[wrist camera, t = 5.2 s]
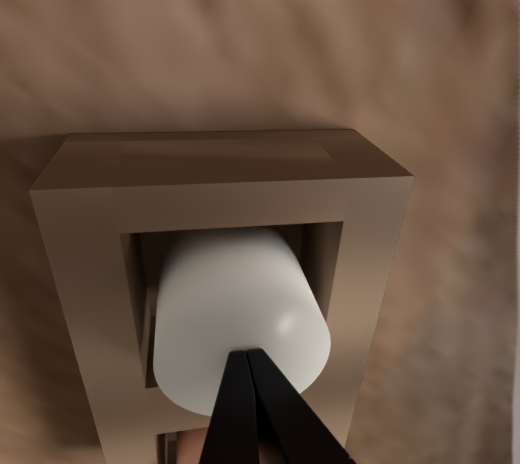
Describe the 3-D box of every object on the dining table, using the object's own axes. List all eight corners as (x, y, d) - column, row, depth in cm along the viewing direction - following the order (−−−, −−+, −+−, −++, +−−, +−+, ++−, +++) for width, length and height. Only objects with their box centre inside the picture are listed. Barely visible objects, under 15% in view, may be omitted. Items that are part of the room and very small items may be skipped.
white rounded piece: (288, 314, 14) (319, 405, 11) (165, 326, 14) (161, 427, 11) (299, 207, 12) (342, 283, 9) (152, 214, 11) (143, 300, 8)
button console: (306, 420, 22) (331, 499, 18) (135, 445, 20) (127, 537, 17) (354, 129, 13) (414, 176, 10) (70, 133, 12) (28, 190, 8)
